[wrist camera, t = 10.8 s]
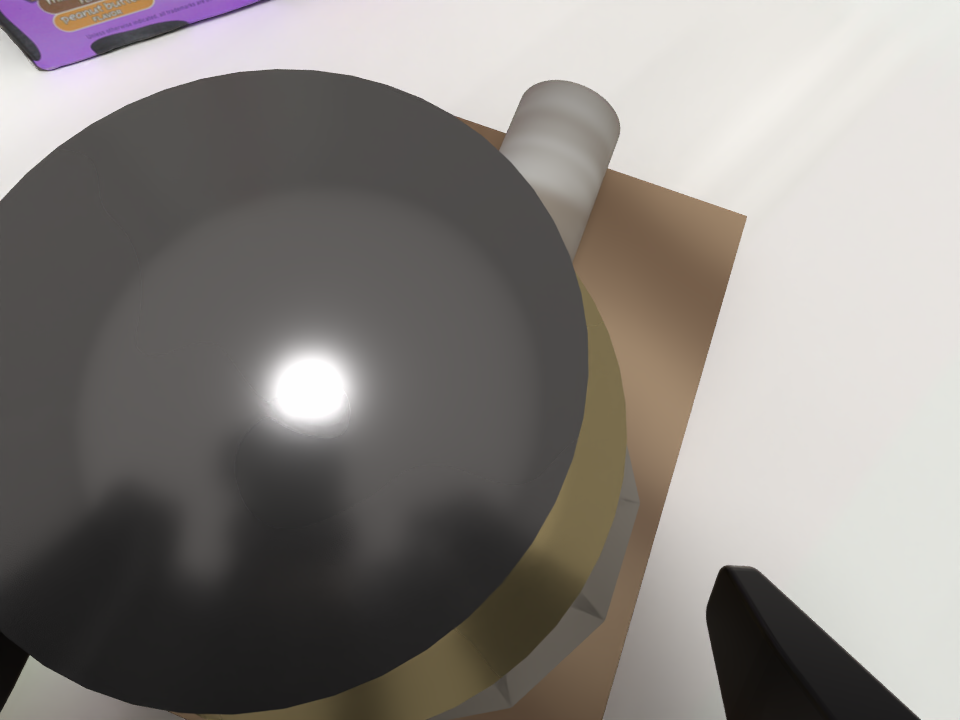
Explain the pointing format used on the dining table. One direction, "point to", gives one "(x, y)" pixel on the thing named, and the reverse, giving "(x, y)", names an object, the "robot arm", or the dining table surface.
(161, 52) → the dining table surface
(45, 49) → the candy box
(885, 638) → the dining table surface
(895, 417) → the dining table surface
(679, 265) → the fitting board
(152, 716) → the dining table surface
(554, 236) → the gold two-tone capped cylinder
